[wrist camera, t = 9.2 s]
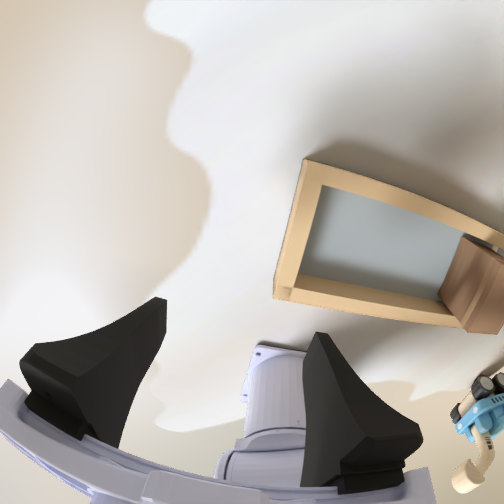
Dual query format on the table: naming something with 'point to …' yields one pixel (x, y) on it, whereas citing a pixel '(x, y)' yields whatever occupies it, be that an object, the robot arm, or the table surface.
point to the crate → (475, 288)
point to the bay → (371, 247)
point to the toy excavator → (479, 428)
